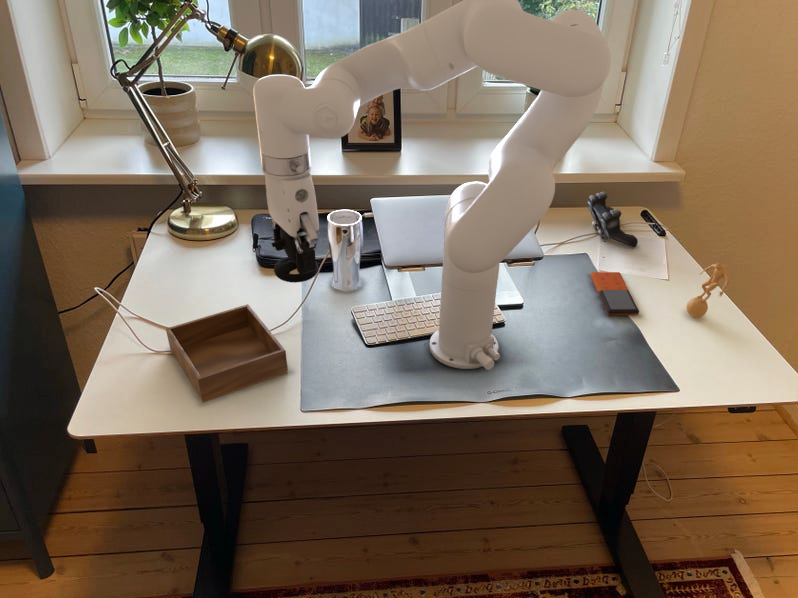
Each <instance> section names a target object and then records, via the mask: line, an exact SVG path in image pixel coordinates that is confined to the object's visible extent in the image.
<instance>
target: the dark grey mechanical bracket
mask: <svg viewBox="0 0 798 598" xmlns="http://www.w3.org/2000/svg"><path fill="white" fill-rule="evenodd" d="M607 198H608V193H606V192H605V191H601V192H596V194H595V195H594V194H591V195H589V196H588V201H587V204H586V205H587V209H588V210H589V212H590V214H591V216H592V218H593V220H594V221H592V222H591V225H592V228H593V229H594V230H595V231H597V232H598V235H599V237H600V239H602V240H604V237H605V238H606V239H607V240H612V241H614V242H617V243H619V244H622V245H625V246H627V247H630V248H634V249H635V248H637V246H638V244H639V241H638V238H637V237H636V236H635V235H634V234H630V233H626V232H625V231H623V230H622V229H621V222H620V218H621V216H622V214H623V213H622V211H621V210H620V209H619V208H618V209H615V208H613V207H612V206H609V205H607V204H606V200H607Z"/></svg>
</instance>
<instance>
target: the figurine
mask: <svg viewBox="0 0 798 598" xmlns="http://www.w3.org/2000/svg"><path fill="white" fill-rule="evenodd" d="M712 268H714V270H713V276H710V277H709V278H708V279H707V280H706V281H705V282H703V283H702V284H701V288H702V290H703V293H701V294H700V295H697V296H695V297H692V298H690V299H689V301H687V303H686V307H685V308H686V312H687V314H688V315H689V316H690V317H692V318H702V317H703V316H705V315H706V314H707V312H708V309H709V306H708V303H707V300H708V299H710V297H711V295H712V291H714V290H716V288H718V286H719V281H720V280H722V279H723V278H724V279H725V283H724V285H723V286H722V289H721V291H718V295H717V296H718V297H719V298H721V297H722V296H723V294H724V292H725V290H726V289H727V287H728V285H729V284H730V279H729V271H730V267H729V266H728V265H727V264H722V263H721V262H717V263H713V264H711V265H710V266H708V267H706V268H704V269H703V270H701V272H700V273H699V275H702V274H703V273H704V272H706V271H709V270H711V269H712ZM705 295H707V296H705ZM704 296H705V297H704Z"/></svg>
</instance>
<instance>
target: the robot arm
mask: <svg viewBox="0 0 798 598" xmlns="http://www.w3.org/2000/svg"><path fill="white" fill-rule="evenodd" d="M611 56H612V55H611V52H610V48H609V45H608V42H607V41H606V39H605V37H604V35H603V33H602V31H601V29H600V27H599V25H598V24H597V22H596V21H595V19H593V18H592V17H591V16H590V15H589V14H588V13H586V12H585V11H582V10H579V9H567V10H563V11H560V12H559V13H558V14H556V15H555V16H554V17H553V18H552V19H546V18H544V17H541V16H538V15H535V14H532V13H530V12H527V11H525V10H524V9H523V7H522V5H521V3H520V2H519V0H461V1H460V2H459V1H458V3H455V4H454V5H452V6H450V7H448V8H447V9H445V10H442V11H441V12H439V13H437V14H435V15H434V16H431V17H430V18H429V19H426V20H424V21H422V22H420V23H418V24H416V25H414V26H413V27H411V28H409V29H406V30H404V31H402V32H400V33H396V34H394V35H391V36H389V37H386V38H385V39H381V40H378V41H375V42H373V43H371V44H368V45H365V46H364V47H362V48H360V49H358V50H356V51H354V52H352V53H350V54H348V55H346V56H345V57H343V58H341V59H339V60H337V61H335V62H333V63H332V64H330V65H329V66H327V67H326V68H324V69H323V70H321V72H320V73H319V74H318V75H317V76H316V78H315V80H314V81H313V83H312V84H311V85H310V86H307V87H305V84H304V82H303V81H302V80H301V79H299V78H298V77H296V76H293V75H289V74H270V75H265V76H263V77H261V78H259V79H258V80H256V81H255V82H254V84H253V103H254V111H255V120H256V129H257V136H258V145H259V153H260V161H261V162H260V163H261V171H262V173H263V174H264V175H265V192H266V193H265V195H266V203H267V209H268V213H269V216H270V217H271V226H272V228H273V229H272V233H273V234H272V235H273V240H274V242H277V241H279V240H281V236H280V227H281V228H282V229H284V230H285V231H286V232H287V233H288V234H289V235H290V236H292V237H294V240H295V244H296V247H297V250H298V251H295V253H296V263H297V269H296V271H297V274H299V273H300V274H301V273H304V272H307V271H311V270H314V269H316V262H317V259H316V249H317V243H318V240H319V236H318V232H319V230H320V222H319V213H318V204H317V203H318V202H317V196H316V191H315V186H314V181H313V178H312V174H311V173H310V172H311V171H312V162H311V161H312V160H311V147H310V136H312V137H317V138H321V139H326V140H334V139H335V140H336V139H340V138H343V137H345V136H346V135H348V134H349V133H350V132H351V130H352V128H353V127H354V124H355V121H356V118H357V115H358V111H359V109H360V107H362V106H363V105H365V104H367V103H369V102H371V101H373V100H375V99H377V98H379V97H381V96H383V95H385V94H388V93H390V92H393V91H396V90H400V89H415V90H418V91H430V90H433V89H436V88H438V87H440V86H442V85H444V84H446V83H447V82H449V81H451V80H454V79H455V78H457V77H459V76H461V75H464V74H465V73H467V72H469V71H471V70H473V69H475V68H478V69H480V70H481V71H484V72H486V73H488V74H491V75H493V76H496V77H498V78H502V79H504V80H507V81H509V82H514V83H517V84H520V85H522V86H523V85H524V86H527V87H530V88H534V89H537V90H540V91H539V93H538V95H537V96H536V98H535V99H534V100H533V102H532V103H531V105H530V106H529V108H528V109H527V110H526V112H524V114H523V115H522V116H521V118H520V119H519V120H518V121H517V122H516V123H515V125H513V127H512V128H511V129H510V130H509V132H508V133H507V134H506V135H505V136H504V138H503V139H501V141H500V142H499V143H498V144H497V146H495V148H494V149H493V151H492V153H491V154H490V156H489V159H488V167H487V168H488V170H487V171H488V173H487V175H488V183H485V182H482V181H468V182H466V183H463V184H461V185H460V186H458V187H457V188H455V190H453V192H452V193H451V194H450V196H449V197H448V200H447V202H446V205H445V209H444V231H443V232H444V233H443V255H442V270H441V271H442V272H441V287H440V303H439V304H440V305H439V319H438V320H439V322H438V329H437V330H436V331H434V332H433V333H432V335H431V336H430V339H429V352H430V353H431V355H432V356H433V357H434V358H435V359H436V360H437V361H438V362H440V364H444V365H445V366H448V367H451V368H454V369H459V370H472V369H473V370H474V369H479V368H484V369H485V370H487V371H490V370H492V369H493V368H494V366H495V361H499V360H500V358H501V354H500V353H499V342H498V340H497V337H496V336H495V335H494V334H493V326H494V325H493V323H494V316H495V305H496V299H497V298H496V297H497V289H498V280H499V272H500V264H501V263H502V261H503V260H504V259H506V257H508V256H509V254H510V253H512V252H513V250H514V249H515V248H516V247H517V246H518V245H519V243H521V242H522V241H523V239H524V238H525V237H526V236H527V235H528V234H529V233H530V232H531V231H532V230H533V228H535V226H536V225H537V224H538V223H539V222H540V221H541V220H542V218H543V217H545V215H546V213H547V211H548V210H549V209H550V206H551V205H552V202H553V200H554V197H555V193H556V179H555V175H554V170H555V168H556V167H557V165H558V163H559V162H560V161H561V160H562V159H563V157H564V156H565V155H566V154H567V152H568V151H569V150H570V149H571V148H572V146H573V145H574V144H575V143H576V141H577V140H578V139H579V138H580V136H581V135H582V134H583V133H584V131H585V130H586V129H587V128H588V126H589V124H590V123H591V121H592V119H593V117H594V115H595V113H596V112H597V109H598V106H599V103H600V100H601V97H602V94H603V88H604V83H605V82H606V79H607V78H608V76H609V73H610V70H611V64H612V57H611ZM301 228H303V229H304V232H300V233H297V231H299V229H301ZM305 235H306V236H307V238H306V241H304V242H303V244H301V241H300V238H299V237H301V236H305ZM274 242H273V243H274ZM274 249H275V250H276V251H277V252H280V251H284V248H283V247H282V246H277V247H274Z"/></svg>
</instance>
